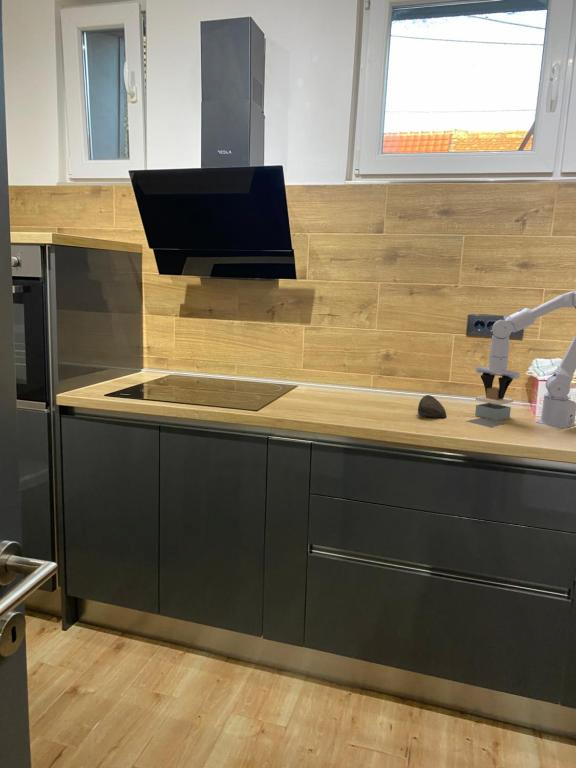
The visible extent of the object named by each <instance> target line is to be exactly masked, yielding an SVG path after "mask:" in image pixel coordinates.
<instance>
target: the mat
mask: <svg viewBox="0 0 576 768" xmlns="http://www.w3.org/2000/svg"><path fill="white" fill-rule="evenodd" d="M467 422H468V423H471V424H475V425H480V426H482V427H483V426H484V427H488V428H495V427H498V426H503V425H506V424H507V423H505V422H501V421H496V420H492V419H487V418H483V417H479V418H473V419H470V420H466V423H467Z"/></svg>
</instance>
